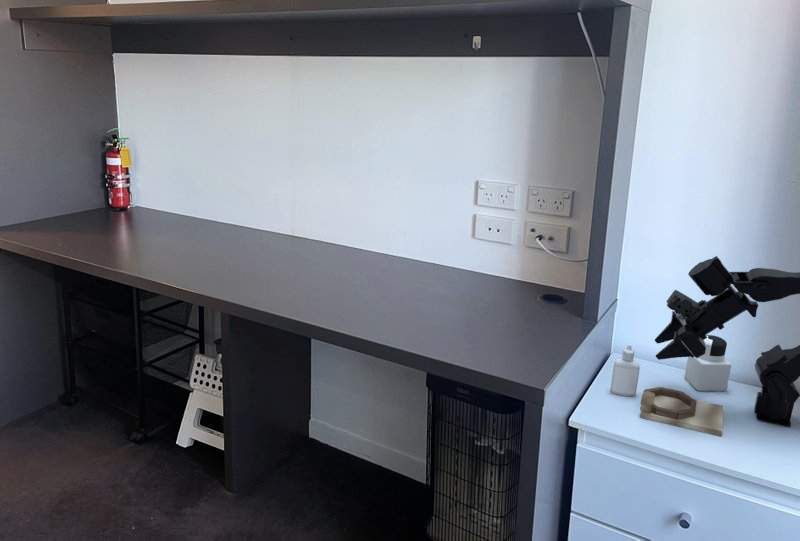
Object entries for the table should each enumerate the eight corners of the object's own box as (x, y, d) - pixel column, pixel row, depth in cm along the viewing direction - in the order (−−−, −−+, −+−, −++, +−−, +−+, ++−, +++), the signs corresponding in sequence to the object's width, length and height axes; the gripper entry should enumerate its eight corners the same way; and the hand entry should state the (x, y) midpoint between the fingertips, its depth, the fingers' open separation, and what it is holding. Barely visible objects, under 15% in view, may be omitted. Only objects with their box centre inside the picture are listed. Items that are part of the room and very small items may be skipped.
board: (722, 410, 147) (726, 389, 146) (721, 436, 137) (725, 414, 135) (644, 393, 154) (647, 373, 152) (637, 416, 144) (640, 395, 142)
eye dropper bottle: (629, 400, 151) (636, 351, 147) (607, 391, 155) (613, 343, 151) (638, 393, 154) (646, 346, 150) (616, 385, 157) (623, 338, 154)
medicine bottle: (712, 377, 163) (720, 332, 159) (726, 391, 156) (736, 344, 152) (683, 377, 162) (691, 332, 159) (697, 391, 156) (705, 344, 152)
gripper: (691, 269, 150) (633, 308, 157) (697, 295, 134) (632, 337, 140) (722, 307, 151) (663, 344, 157) (733, 337, 134) (666, 377, 140)
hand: (656, 349), depth 149 cm, fingers open, 9 cm apart
